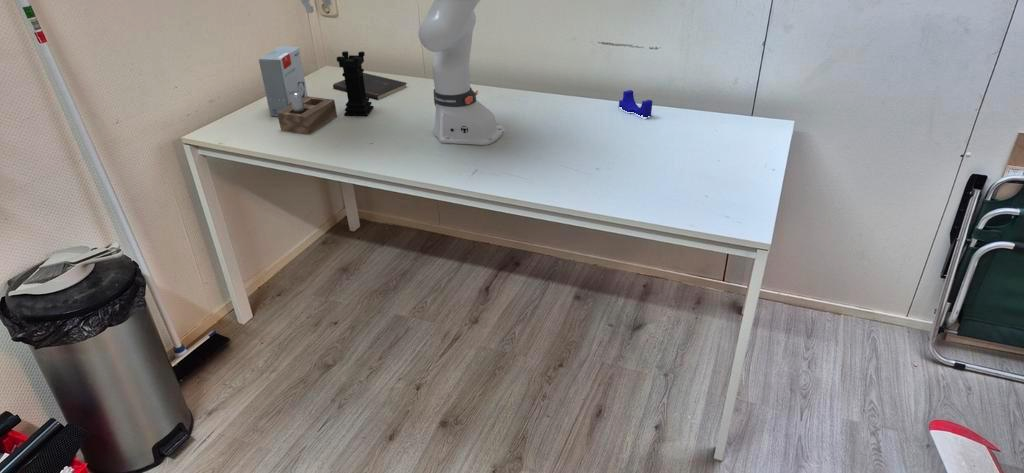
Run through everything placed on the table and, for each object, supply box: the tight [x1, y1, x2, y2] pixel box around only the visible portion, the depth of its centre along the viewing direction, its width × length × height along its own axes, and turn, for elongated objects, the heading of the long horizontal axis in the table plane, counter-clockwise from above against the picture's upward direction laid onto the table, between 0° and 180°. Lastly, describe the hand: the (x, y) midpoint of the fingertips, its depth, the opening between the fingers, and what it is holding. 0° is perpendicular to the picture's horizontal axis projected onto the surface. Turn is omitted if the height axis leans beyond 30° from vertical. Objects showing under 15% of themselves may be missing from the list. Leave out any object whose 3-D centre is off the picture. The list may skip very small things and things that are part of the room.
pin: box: [290, 91, 305, 114], centre depth 212 cm, size 4×4×10 cm
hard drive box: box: [258, 45, 308, 117], centre depth 225 cm, size 16×8×20 cm, turn 171°
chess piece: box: [336, 50, 375, 118], centre depth 221 cm, size 8×8×20 cm
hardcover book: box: [332, 72, 408, 101], centre depth 247 cm, size 16×23×2 cm
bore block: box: [277, 95, 338, 135], centre depth 217 cm, size 11×16×6 cm
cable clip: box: [618, 89, 653, 117], centre depth 220 cm, size 12×4×6 cm, turn 27°
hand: (319, 9), depth 198 cm, fingers open, 8 cm apart
